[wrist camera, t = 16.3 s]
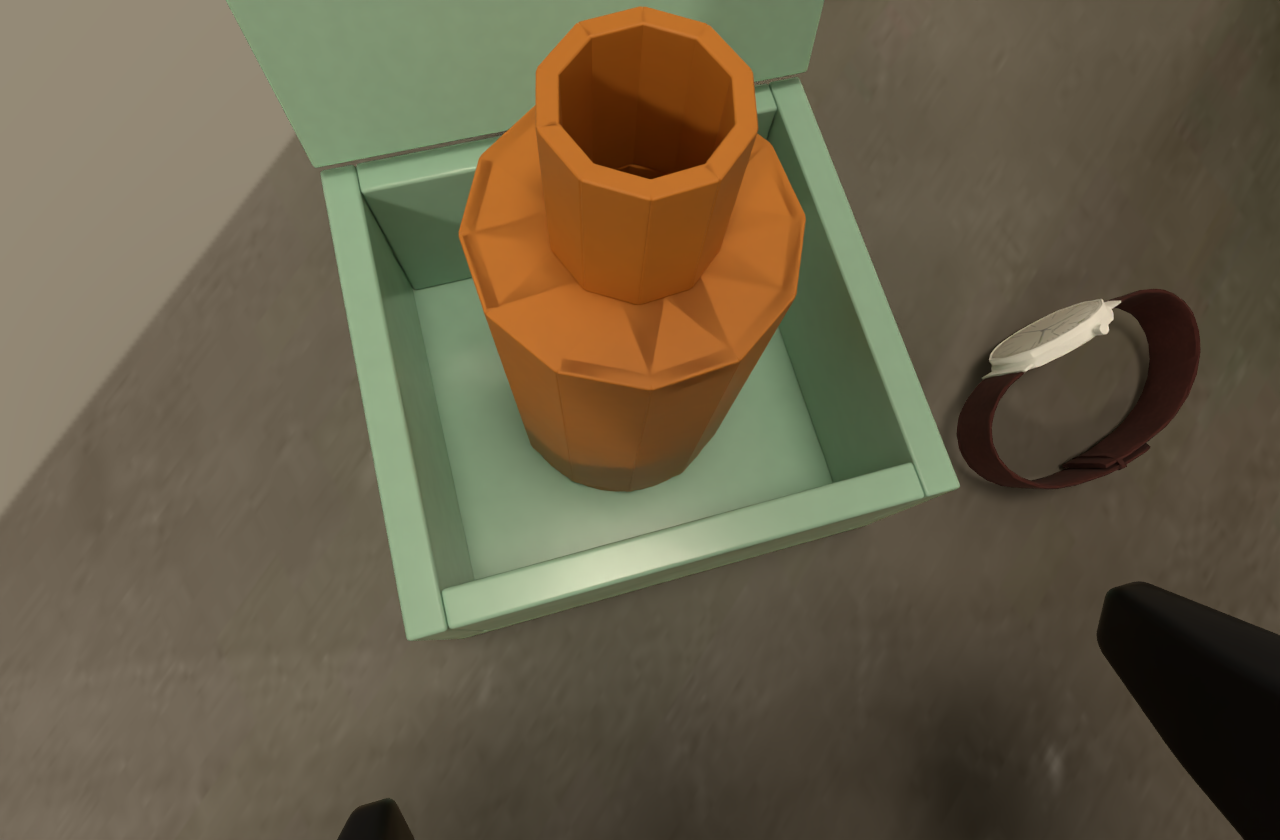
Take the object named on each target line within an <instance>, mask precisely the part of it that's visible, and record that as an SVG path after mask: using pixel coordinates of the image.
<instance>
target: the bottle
mask: <svg viewBox="0 0 1280 840" xmlns="http://www.w3.org/2000/svg"><path fill="white" fill-rule="evenodd" d="M757 132H758V119H757V108H756V97H755V87H754V76H753V72H752V70H751V68H750V67H749V66H748V65H747V64H746V63H745V62H744V61H743V60H742V59H741V58H740V57H739V55H738V54H737V53H736V52H735V51H734V50H733V49H732V48H731V47H730V46H729V45H728V44H727V43H726V42H725V41H724V40H723V39H722V38H721V37H720V35H719V34H718V33H717V32H716V31H715V30H714V29H713V28H712V27H711V26H710V25H707V24H706V23H703V22H700V21H696V20H693V19H689V18H685V17H682V16H678V15H674V14H671V13H667V12H663V11H660V10H656V9H653V8H649V7H645V6H644V7H641V6H640V7H636V8H632V9H628V10H624V11H620V12H616V13H612V14H608V15H604V16H600V17H596V18H592V19H588V20H584V21H580V22H578V23H576V24H575V25H574V26H573V28H572V29H571V30H570V31H569V32H568V33H567V34H566V35H565V37H564V38H563V39H562V40H561V41H560V42H559V43H558V44H557V46H556V47H555V48H554V49H553V50H552V51H551V52H550V53H549V54H548V56H547V57H546V58H545V59H544V60H543V61H542V62H541V63H540V65H539V66H538V67H537V70H536V86H535V106H534V107H533V108H531V109H530V110H529V111H528V112H527V113H526V114H525V115H524V116H523V117H522V118H521V119H520V120H518V121H517V122H516V123H515V124H514V125H513V126H512V127H511V128H510V129H509V130H508V131H506V132H505V133H504V134H503V135H502V136H501V137H500V138H499V139H498V140H497V141H496V142H495V143H493V144H492V145H491V146H490V147H489V148H488V149H487V150H486V151H485V152H484V153H483V154H481V156H480V158H479V160H478V164H477V167H476V171H475V174H474V178H473V182H472V185H471V189H470V193H469V196H468V200H467V203H466V207H465V211H464V214H463V218H462V221H461V225H460V229H459V232H458V233H459V240H460V242H461V245H462V248H463V251H464V254H465V257H466V260H467V263H468V266H469V269H470V272H471V275H472V278H473V281H474V284H475V287H476V290H477V293H478V296H479V299H480V302H481V305H482V308H483V311H484V314H485V317H486V320H487V323H488V325H489V328H490V331H491V334H492V337H493V340H494V342H495V345H496V348H497V351H498V354H499V356H500V359H501V362H502V365H503V368H504V371H505V373H506V376H507V379H508V382H509V385H510V387H511V390H512V393H513V396H514V399H515V402H516V404H517V407H518V410H519V413H520V416H521V418H522V421H523V424H524V427H525V430H526V432H527V435H528V438H529V441H530V444H531V446H532V447H533V448H534V449H535V450H536V451H537V452H539V453H540V454H541V455H542V457H543V458H544V459H545V460H546V461H547V462H548V463H549V464H550V465H551V466H552V467H554V468H555V469H556V470H558V471H559V472H560V473H562V474H563V475H564V476H566V477H568V478H569V479H570V480H572V481H574V482H576V483H580V484H583V485H585V486H588V487H592V488H596V489H600V490H607V491H625V492H631V491H634V490H641V489H645V488H648V487H652V486H655V485H657V484H660V483H662V482H664V481H667V480H668V479H670V478H672V477H674V476H677V475H680V474H681V473H683V471H684V470H685V469H686V468H687V467H688V466H689V464H690V463H691V462H692V461H693V460H694V459H695V458H696V457H697V456H698V454H699V453H700V452H701V450H702V449H703V448H704V447H705V445H706V444H707V443H708V442H709V441H710V439H711V438H712V437H713V436H714V435H715V433H716V431H717V430H718V428H719V426H720V425H721V423H722V421H723V420H724V418H725V416H726V415H727V413H728V411H729V409H730V408H731V406H732V404H733V403H734V401H735V399H736V398H737V396H738V394H739V392H740V391H741V389H742V387H743V386H744V384H745V382H746V381H747V379H748V377H749V375H750V374H751V372H752V370H753V369H754V367H755V365H756V364H757V362H758V360H759V358H760V357H761V355H762V353H763V352H764V350H765V348H766V347H767V345H768V343H769V341H770V340H771V338H772V336H773V335H774V333H775V331H776V330H777V328H778V326H779V325H780V323H781V321H782V319H783V318H784V316H785V314H786V313H787V311H788V309H789V308H790V306H791V304H792V302H793V301H794V299H795V296H796V294H797V286H798V278H799V270H800V262H801V254H802V246H803V238H804V230H805V222H806V217H805V213H804V211H803V209H802V207H801V205H800V203H799V201H798V199H797V196H796V194H795V192H794V190H793V188H792V186H791V184H790V182H789V180H788V177H787V175H786V173H785V171H784V169H783V167H782V165H781V163H780V161H779V158H778V156H777V154H776V152H775V150H774V148H773V146H772V145H771V143H770V142H768V141H767V140H766V139H764V138H763V137H762V136H760V135H759V134H757Z"/></svg>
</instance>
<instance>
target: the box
mask: <svg viewBox="0 0 1280 840" xmlns="http://www.w3.org/2000/svg"><path fill="white" fill-rule="evenodd" d="M754 87H755V97H756V108H757V119H758V132H757V134H759V135H760V136H762V137H763V138H764V139H766V140H767V141H768V142H770V143H771V145H772V146H773V148H774V150H775V152H776V154H777V156H778V158H779V161H780V163H781V165H782V167H783V169H784V171H785V173H786V175H787V177H788V180H789V182H790V184H791V186H792V188H793V190H794V192H795V194H796V196H797V199H798V201H799V203H800V205H801V207H802V209H803V211H804V213H805V217H806V222H805V230H804V238H803V246H802V254H801V262H800V270H799V278H798V286H797V294H796V296H795V299H794V301H793V302H792V304H791V306H790V308H789V309H788V311H787V313H786V314H785V316H784V318H783V319H782V321H781V323H780V325H779V326H778V328H777V330H776V331H775V333H774V335H773V336H772V338H771V340H770V341H769V343H768V345H767V347H766V348H765V350H764V352H763V353H762V355H761V357H760V358H759V360H758V362H757V364H756V365H755V367H754V369H753V370H752V372H751V374H750V375H749V377H748V379H747V381H746V382H745V384H744V386H743V387H742V389H741V391H740V392H739V394H738V396H737V398H736V399H735V401H734V403H733V404H732V406H731V408H730V409H729V411H728V413H727V415H726V416H725V418H724V420H723V421H722V423H721V425H720V426H719V428H718V430H717V431H716V433H715V435H714V436H713V437H712V438H711V439H710V441H709V442H708V443H707V444H706V445H705V447H704V448H703V449H702V450H701V452H700V453H699V454H698V456H697V457H696V458H695V459H694V460H693V461H692V462H691V463H690V464H689V466H688V467H687V468H686V469H685V470H684V471H683V473H681V474H680V475H677V476H674V477H672V478H670V479H668V480H667V481H664V482H662V483H660V484H657V485H655V486H652V487H648V488H645V489H641V490H634V491H631V492H625V491H607V490H600V489H596V488H592V487H588V486H585V485H583V484H580V483H576V482H574V481H572V480H570V479H569V478H568V477H566V476H564V475H563V474H562V473H560V472H559V471H558V470H556V469H555V468H554V467H552V466H551V465H550V464H549V463H548V462H547V461H546V460H545V459H544V458H543V457H542V455H541V454H540V453H539V452H537V451H536V450H535V449H534V448H533V447H532V446H531V444H530V441H529V438H528V435H527V432H526V430H525V427H524V424H523V421H522V418H521V416H520V413H519V410H518V407H517V404H516V402H515V399H514V396H513V393H512V390H511V387H510V385H509V382H508V379H507V376H506V373H505V371H504V368H503V365H502V362H501V359H500V356H499V354H498V351H497V348H496V345H495V342H494V340H493V337H492V334H491V331H490V328H489V325H488V323H487V320H486V317H485V314H484V311H483V308H482V305H481V302H480V299H479V296H478V293H477V290H476V287H475V284H474V281H473V278H472V275H471V272H470V269H469V266H468V263H467V260H466V257H465V254H464V251H463V248H462V245H461V242H460V240H459V233H458V232H459V229H460V225H461V221H462V218H463V214H464V211H465V207H466V203H467V200H468V196H469V193H470V189H471V185H472V182H473V178H474V174H475V171H476V167H477V164H478V160H479V158H480V156H481V154H483V153H484V152H485V151H486V150H487V149H488V148H489V147H490V146H491V145H492V144H493V143H495V142H496V141H497V140H498V139H499V138H500V137H501V136H502V135H501V136H496V137H491V138H485V139H480V140H475V141H470V142H465V143H460V144H455V145H450V146H445V147H440V148H435V149H429V150H424V151H419V152H414V153H409V154H404V155H399V156H394V157H389V158H384V159H379V160H373V161H368V162H363V163H359V164H357V166H356V167H355V166H354V165H348V166H343V167H338V168H333V169H328V170H323V171H321V181H322V186H323V191H324V197H325V202H326V208H327V213H328V218H329V224H330V229H331V235H332V240H333V245H334V251H335V256H336V261H337V267H338V272H339V278H340V283H341V288H342V294H343V299H344V305H345V310H346V315H347V321H348V326H349V332H350V337H351V342H352V348H353V353H354V359H355V364H356V369H357V375H358V380H359V386H360V391H361V396H362V402H363V407H364V412H365V418H366V423H367V429H368V434H369V439H370V445H371V450H372V456H373V461H374V466H375V472H376V477H377V483H378V488H379V493H380V499H381V504H382V510H383V515H384V520H385V526H386V531H387V537H388V542H389V547H390V553H391V558H392V564H393V569H394V574H395V580H396V585H397V590H398V596H399V601H400V607H401V612H402V617H403V623H404V628H405V634H406V638H407V639H408V640H409V641H422V640H446V639H464V638H468V637H471V636H475V635H478V634H482V633H486V632H489V631H493V630H496V629H500V628H503V627H507V626H511V625H514V624H518V623H521V622H525V621H528V620H532V619H535V618H539V617H543V616H546V615H550V614H553V613H557V612H560V611H564V610H567V609H571V608H575V607H578V606H582V605H585V604H589V603H592V602H596V601H600V600H603V599H607V598H610V597H614V596H617V595H621V594H624V593H628V592H632V591H635V590H639V589H642V588H646V587H649V586H653V585H656V584H660V583H664V582H667V581H671V580H674V579H678V578H681V577H685V576H689V575H692V574H696V573H699V572H703V571H706V570H710V569H713V568H717V567H721V566H724V565H728V564H731V563H735V562H738V561H742V560H745V559H749V558H753V557H756V556H760V555H763V554H767V553H770V552H774V551H777V550H781V549H785V548H788V547H792V546H795V545H799V544H802V543H806V542H810V541H813V540H817V539H820V538H824V537H827V536H831V535H834V534H838V533H842V532H845V531H849V530H852V529H856V528H859V527H863V526H866V525H868V524H871V523H873V522H876V521H878V520H881V519H883V518H886V517H888V516H891V515H893V514H896V513H898V512H901V511H903V510H906V509H908V508H911V507H913V506H916V505H918V504H921V503H923V502H926V501H928V500H931V499H933V498H936V497H938V496H941V495H943V494H946V493H948V492H951V491H953V490H956V489H958V488H959V487H960V484H959V481H958V479H957V476H956V473H955V471H954V468H953V466H952V463H951V461H950V458H949V456H948V453H947V451H946V448H945V446H944V443H943V441H942V438H941V436H940V433H939V430H938V428H937V425H936V423H935V420H934V418H933V415H932V413H931V410H930V408H929V405H928V403H927V400H926V398H925V395H924V392H923V390H922V387H921V385H920V382H919V380H918V377H917V375H916V372H915V370H914V367H913V365H912V362H911V360H910V357H909V355H908V352H907V349H906V347H905V344H904V342H903V339H902V337H901V334H900V332H899V329H898V327H897V324H896V322H895V319H894V317H893V314H892V312H891V309H890V306H889V304H888V301H887V299H886V296H885V294H884V291H883V289H882V286H881V284H880V281H879V279H878V276H877V274H876V271H875V268H874V266H873V263H872V261H871V258H870V256H869V253H868V251H867V248H866V246H865V243H864V241H863V238H862V236H861V233H860V231H859V228H858V225H857V223H856V220H855V218H854V215H853V213H852V210H851V208H850V205H849V203H848V200H847V198H846V195H845V193H844V190H843V188H842V185H841V182H840V180H839V177H838V175H837V172H836V170H835V167H834V165H833V162H832V160H831V157H830V155H829V152H828V150H827V147H826V144H825V142H824V139H823V137H822V134H821V132H820V129H819V127H818V124H817V122H816V119H815V117H814V114H813V112H812V109H811V107H810V104H809V101H808V99H807V96H806V94H805V91H804V89H803V86H802V84H801V81H800V79H799V77H794V78H789V79H784V80H779V81H774V82H770V83H769V85H768V84H760V85H755V86H754Z"/></svg>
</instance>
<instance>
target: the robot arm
mask: <svg viewBox="0 0 1280 840" xmlns="http://www.w3.org/2000/svg"><path fill="white" fill-rule="evenodd" d="M1097 641H1098V644H1099V647H1100V649H1101V651H1102V653H1103V654H1104V656H1105V657H1106V659H1107V660H1108V662H1109V663H1110V665H1111V666H1112V667H1113V669H1114V670H1115V672H1116V673H1117V675H1118V676H1119V677H1120V679H1121V680H1122V682H1123V683H1124V685H1125V686H1126V687H1127V689H1128V690H1129V692H1130V693H1131V695H1132V696H1133V697H1134V699H1135V700H1136V702H1137V703H1138V705H1139V706H1140V707H1141V709H1142V710H1143V712H1144V713H1145V715H1146V716H1147V717H1148V719H1149V720H1150V722H1151V723H1152V724H1153V726H1154V727H1155V729H1156V730H1157V732H1158V733H1159V734H1160V736H1161V737H1162V739H1163V740H1164V742H1165V743H1166V744H1167V746H1168V747H1169V748H1170V750H1171V751H1172V753H1173V754H1174V755H1175V757H1176V758H1177V759H1178V761H1179V762H1180V763H1181V764H1182V766H1183V767H1184V768H1185V769H1186V771H1187V772H1188V773H1189V774H1190V776H1191V777H1192V778H1193V779H1194V781H1195V782H1196V783H1197V784H1198V785H1199V787H1200V788H1201V789H1202V790H1203V791H1204V793H1205V794H1206V795H1207V796H1208V797H1209V798H1210V800H1211V801H1212V802H1213V803H1214V804H1215V806H1216V807H1217V808H1218V809H1219V810H1220V812H1221V813H1222V814H1223V815H1224V816H1225V818H1226V819H1227V820H1228V821H1229V822H1230V823H1231V825H1232V826H1233V827H1234V828H1235V829H1236V831H1237V832H1238V833H1239V834H1240V835H1241V837H1242V838H1243V839H1244V840H1280V635H1278V634H1275V633H1273V632H1270V631H1268V630H1265V629H1263V628H1260V627H1257V626H1255V625H1252V624H1250V623H1247V622H1245V621H1242V620H1240V619H1237V618H1235V617H1232V616H1230V615H1227V614H1225V613H1222V612H1220V611H1217V610H1215V609H1212V608H1210V607H1207V606H1205V605H1202V604H1200V603H1197V602H1195V601H1192V600H1190V599H1187V598H1185V597H1182V596H1180V595H1177V594H1174V593H1172V592H1169V591H1167V590H1164V589H1162V588H1159V587H1157V586H1154V585H1152V584H1149V583H1146V582H1132V583H1129V584H1125V585H1122V586H1118V587H1115V588H1112V589H1110V590H1109V591H1108V592H1107V594H1106V596H1105V600H1104V604H1103V608H1102V612H1101V616H1100V621H1099V625H1098V629H1097ZM337 840H415V839H414V837H413V835H412V833H411V831H410V829H409V827H408V825H407V823H406V821H405V819H404V817H403V815H402V813H401V811H400V809H399V807H398V805H397V804H396V802H395V801H394V800H392V799H390V798H386V799H382V800H379V801H375V802H372V803H369V804H365V805H362V806H359V807H358V808H356V809H355V810H354V811H353V812H352V814H351V815H350V817H349V818H348V820H347V822H346V824H345V826H344V828H343V830H342V832H341V834H340V835H339V837H338V839H337Z"/></svg>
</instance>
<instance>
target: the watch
mask: <svg viewBox="0 0 1280 840" xmlns="http://www.w3.org/2000/svg"><path fill="white" fill-rule="evenodd" d="M1113 308H1119V309H1121V310H1124V311H1126V312H1128V313H1131V314H1132V315H1133V316H1134V317H1135V318H1136V319H1137V320H1138V322H1139V323H1140V325H1141V327H1142V329H1143V330H1144V332H1145V334H1146V337H1147V341H1148V344H1149V357H1150V361H1149V369H1148V377H1147V380H1146V383H1145V386H1144V389H1143V392H1142V394H1141V396H1140V398H1139V400H1138V402H1137V404H1136V406H1135V407H1134V408H1133V410H1132V411H1131V412H1130V414H1129V415H1128V416H1127V418H1126V419H1125V420H1124V421H1123V423H1122V424H1121V425H1120V426H1119V427H1118V428H1117V429H1116V430H1115V431H1113V432H1112V433H1111V434H1110V435H1108V436H1107V437H1106V438H1104V439H1103V440H1102V441H1101V442H1099V443H1098V444H1097V445H1095V446H1094V447H1093V448H1092V449H1090V450H1089V451H1087V452H1085V453H1083V454H1082V455H1080V456H1078V457H1075V458H1073V459H1072V460H1070V461H1068V462H1067V463H1065V464H1063V468H1067V469H1065V470H1062V471H1060V472H1058V473H1055V474H1053V475H1050V476H1048V477H1045V478H1041V479H1037V480H1032V481H1030V480H1028V479H1025V478H1022V477H1020V476H1019V475H1017V474H1015V473H1014V472H1012V471H1011V470H1009V469H1008V467H1007V466H1006V465H1005V464H1004V463H1003V462H1002V460H1001V459H1000V458H999V456H998V454H997V451H996V449H995V447H994V444H993V438H992V422H993V417H994V413H995V410H996V408H997V405H998V402H999V400H1000V399H1001V398H1002V396H1003V395H1004V393H1005V392H1006V391H1007V389H1008V388H1009V387H1010V385H1012V384H1013V383H1014V382H1015V381H1016V380H1017V379H1018V378H1019V377H1021V376H1022V375H1023V374H1024V373H1025V372H1026V371H1027V370H1029V369H1033V368H1036V367H1040V366H1042V365H1044V364H1046V363H1048V362H1050V361H1052V360H1054V359H1056V358H1058V357H1061V356H1063V355H1065V354H1067V353H1069V352H1070V351H1072V350H1074V349H1076V348H1078V347H1079V346H1081V345H1083V344H1085V343H1087V342H1088V341H1090V340H1091V339H1092V338H1094V337H1095V336H1096V335H1104V334H1107V333H1108V331H1109V326H1108V324H1109V323H1110V322H1111V321H1112V320H1113V319H1114V317H1113V311H1112V309H1113ZM1199 358H1200V336H1199V330H1198V326H1197V323H1196V320H1195V317H1194V314H1193V312H1192V311H1191V309H1190V308H1189V307H1188V305H1187V304H1186V303H1185V301H1183V300H1182V299H1180V298H1179V297H1178V296H1176V295H1175V294H1173V293H1171V292H1168V291H1166V290H1161V289H1147V290H1139V291H1136V292H1133V293H1130V294H1127V295H1124V296H1120V297H1117V298H1114V299H1111V300H1108V301H1105V302H1104V301H1103V300H1102V299H1098V300H1092V301H1086V302H1082V303H1078V304H1076V305H1073V306H1070V307H1067V308H1064V309H1061V310H1058V311H1056V312H1054V313H1052V314H1050V315H1048V316H1046V317H1044V318H1042V319H1040V320H1038V321H1036V322H1034V323H1032V324H1030V325H1028V326H1027V327H1025V328H1023V329H1021V330H1019V331H1018V332H1016V333H1015V334H1013V335H1012V336H1010V337H1009V338H1007V339H1006V340H1005V341H1003V342H1002V343H1000V344H999V345H998V346H997V347H996V348H995V349H994V350H993V351H992V353H991V354H990V357H989V362H990V363H991V365H992V367H991V370H992V372H990V373H989V374H987V375H986V376H984V377H983V378H982V379H983V381H982V382H981V383H980V384H979V385H978V386H977V387H976V388H975V390H974V391H973V392H972V393H971V395H970V396H969V397H968V399H967V401H966V402H965V404H964V406H963V408H962V411H961V413H960V416H959V419H958V426H957V439H958V445H959V449H960V451H961V454H962V456H963V458H964V459H965V461H966V462H967V464H968V465H969V467H970V468H971V469H973V470H974V471H975V472H976V473H977V474H978V475H980V476H981V477H983V478H984V479H986V480H988V481H990V482H993V483H995V484H998V485H1001V486H1007V487H1018V488H1042V489H1059V488H1065V487H1071V486H1075V485H1078V484H1081V483H1084V482H1087V481H1090V480H1093V479H1096V478H1099V477H1102V476H1105V475H1108V474H1110V473H1112V472H1114V471H1116V470H1121V469H1123V468H1125V467H1127V464H1128V463H1130V462H1131V461H1133V460H1134V459H1136V458H1137V457H1139V456H1140V455H1142V454H1143V453H1145V452H1146V451H1148V449H1149V448H1150V446H1149V445H1148V444H1147V443H1146V442H1147V441H1149V440H1150V439H1151V438H1153V437H1154V436H1155V435H1156V434H1158V433H1159V432H1160V431H1161V430H1162V429H1164V428H1165V427H1166V426H1167V425H1168V423H1169V422H1170V421H1171V420H1172V419H1173V418H1174V417H1175V416H1176V414H1177V413H1178V411H1179V409H1180V408H1181V406H1182V405H1183V403H1184V402H1185V400H1186V399H1187V397H1188V395H1189V393H1190V390H1191V388H1192V385H1193V383H1194V380H1195V377H1196V375H1197V370H1198V364H1199Z"/></svg>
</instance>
